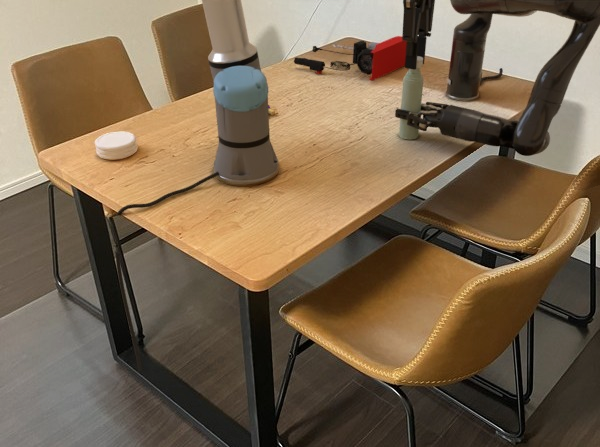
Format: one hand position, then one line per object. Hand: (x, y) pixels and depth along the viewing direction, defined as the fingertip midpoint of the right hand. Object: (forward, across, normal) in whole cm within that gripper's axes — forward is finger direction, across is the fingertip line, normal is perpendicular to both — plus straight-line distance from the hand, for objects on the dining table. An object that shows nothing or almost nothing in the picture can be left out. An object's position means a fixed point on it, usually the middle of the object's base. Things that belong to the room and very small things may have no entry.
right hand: (401, 109), depth 159 cm
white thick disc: (+53, +49, +7) cm, 73 cm away
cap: (-3, 0, -13) cm, 14 cm away
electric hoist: (+39, -40, +7) cm, 56 cm away
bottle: (-3, 0, +7) cm, 7 cm away
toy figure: (+41, +9, +7) cm, 43 cm away
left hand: (-3, 0, -12) cm, 12 cm away
